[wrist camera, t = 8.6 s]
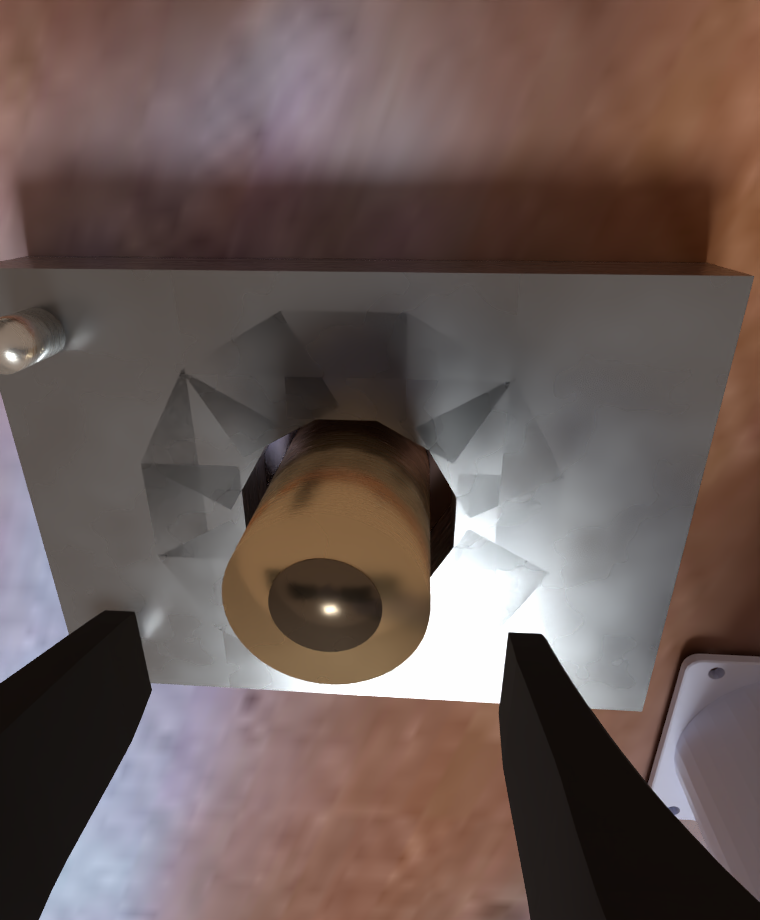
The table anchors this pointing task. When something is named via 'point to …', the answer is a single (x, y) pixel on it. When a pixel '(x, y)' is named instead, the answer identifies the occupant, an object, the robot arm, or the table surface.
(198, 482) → the jig
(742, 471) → the table surface
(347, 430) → the bushing
